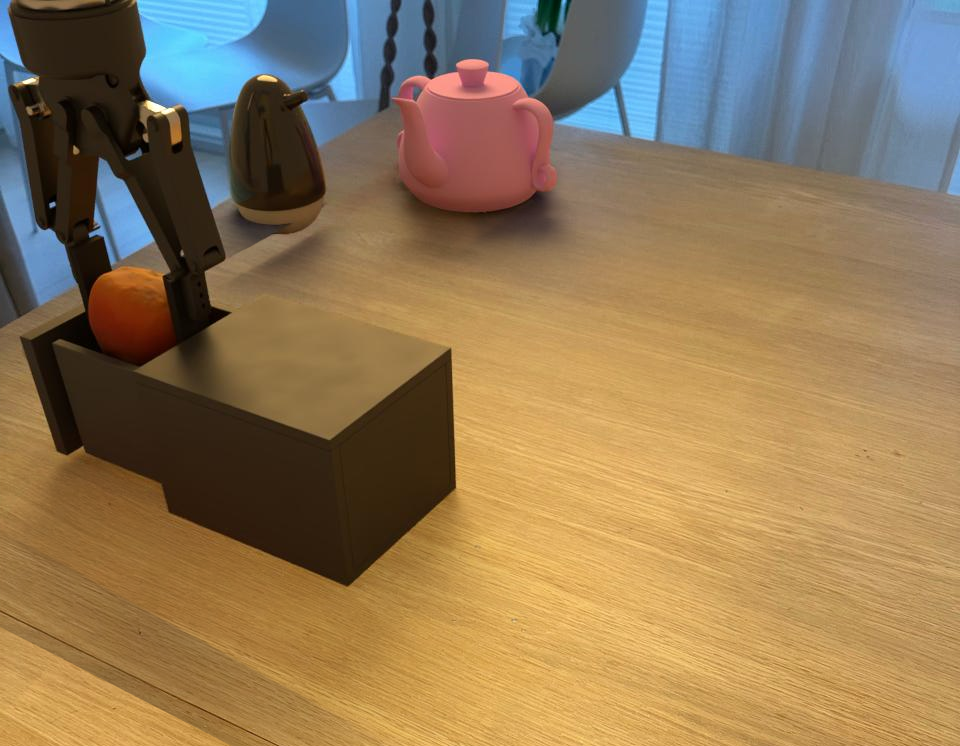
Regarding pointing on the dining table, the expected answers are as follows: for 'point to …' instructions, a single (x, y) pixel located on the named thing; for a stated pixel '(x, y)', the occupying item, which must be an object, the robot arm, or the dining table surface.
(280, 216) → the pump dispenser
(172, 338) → the fruit
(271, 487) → the cabinet
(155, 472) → the drawer
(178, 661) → the dining table surface
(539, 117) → the teapot
